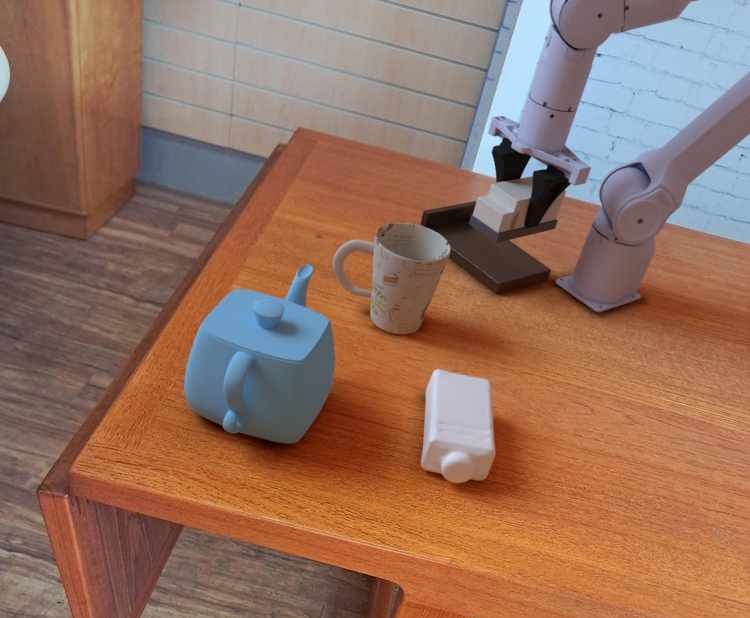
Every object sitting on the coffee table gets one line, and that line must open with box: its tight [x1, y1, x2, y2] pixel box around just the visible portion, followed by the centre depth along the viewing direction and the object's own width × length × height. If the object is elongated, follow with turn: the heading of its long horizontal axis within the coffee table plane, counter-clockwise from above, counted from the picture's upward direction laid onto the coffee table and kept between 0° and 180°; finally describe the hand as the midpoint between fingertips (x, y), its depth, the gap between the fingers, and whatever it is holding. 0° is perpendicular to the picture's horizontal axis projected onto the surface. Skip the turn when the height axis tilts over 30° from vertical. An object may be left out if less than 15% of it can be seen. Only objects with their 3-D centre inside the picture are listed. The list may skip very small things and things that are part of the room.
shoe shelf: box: [419, 200, 552, 295], centre depth 105 cm, size 10×16×4 cm, turn 38°
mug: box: [332, 222, 451, 335], centre depth 88 cm, size 8×13×10 cm, turn 78°
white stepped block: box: [469, 175, 567, 243], centre depth 97 cm, size 11×5×5 cm, turn 128°
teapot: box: [183, 263, 336, 445], centre depth 73 cm, size 12×18×12 cm
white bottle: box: [420, 368, 496, 484], centre depth 76 cm, size 6×13×4 cm, turn 175°
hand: (516, 215), depth 98 cm, fingers closed on white stepped block, 4 cm apart
